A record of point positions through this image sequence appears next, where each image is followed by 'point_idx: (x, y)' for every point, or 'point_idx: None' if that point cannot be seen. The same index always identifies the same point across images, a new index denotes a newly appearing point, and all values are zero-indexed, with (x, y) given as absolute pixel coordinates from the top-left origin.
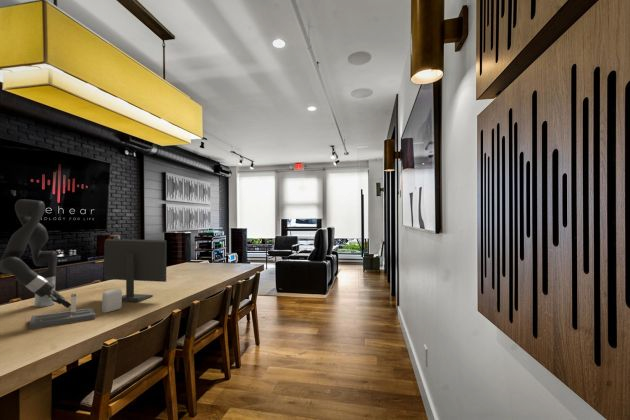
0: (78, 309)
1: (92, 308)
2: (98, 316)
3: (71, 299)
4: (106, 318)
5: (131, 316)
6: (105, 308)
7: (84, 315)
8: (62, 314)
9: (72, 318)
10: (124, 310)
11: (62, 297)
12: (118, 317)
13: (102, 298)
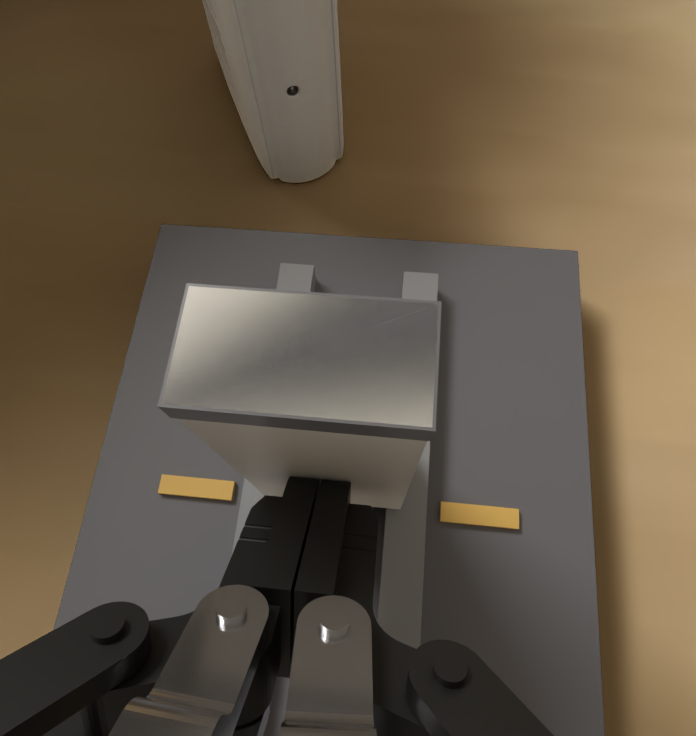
0: (123, 380)
1: (214, 233)
2: (453, 239)
3: (418, 455)
4: (602, 190)
5: (666, 17)
6: (334, 124)
7: (555, 360)
8: (407, 637)
9: (585, 513)
10: (374, 24)
11: (169, 675)
12: (633, 102)
13: (240, 26)
